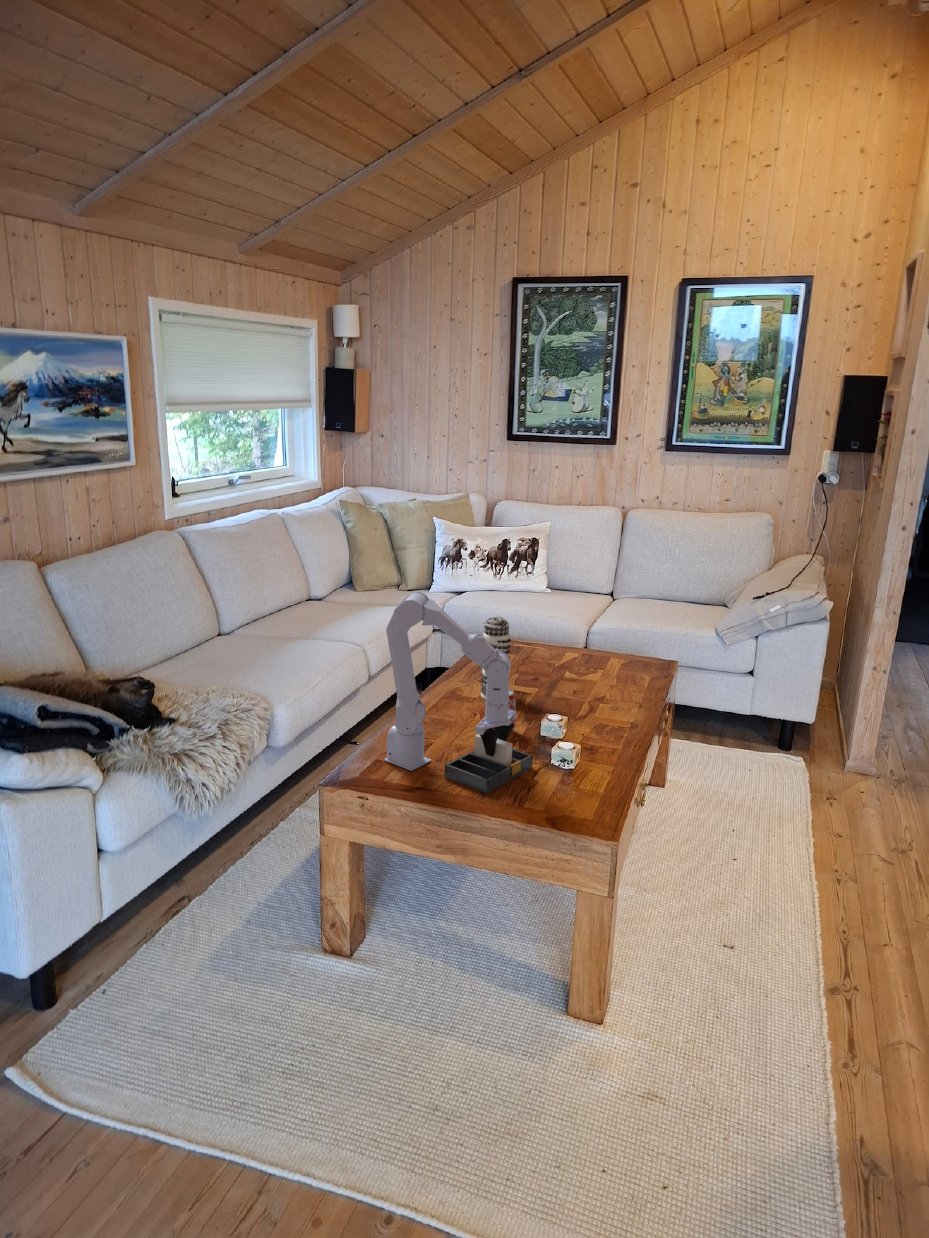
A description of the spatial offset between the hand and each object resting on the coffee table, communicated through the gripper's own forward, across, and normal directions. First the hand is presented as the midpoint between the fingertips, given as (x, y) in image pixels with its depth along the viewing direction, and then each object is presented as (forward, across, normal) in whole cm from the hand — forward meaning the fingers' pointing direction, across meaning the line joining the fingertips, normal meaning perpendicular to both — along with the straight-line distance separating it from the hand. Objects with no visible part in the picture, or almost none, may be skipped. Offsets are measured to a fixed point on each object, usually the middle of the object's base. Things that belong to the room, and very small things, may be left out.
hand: (495, 752), depth 215 cm
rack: (+5, -2, 0) cm, 5 cm away
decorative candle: (+5, +43, +32) cm, 54 cm away
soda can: (+5, +21, +13) cm, 25 cm away
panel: (+4, 0, +1) cm, 4 cm away
